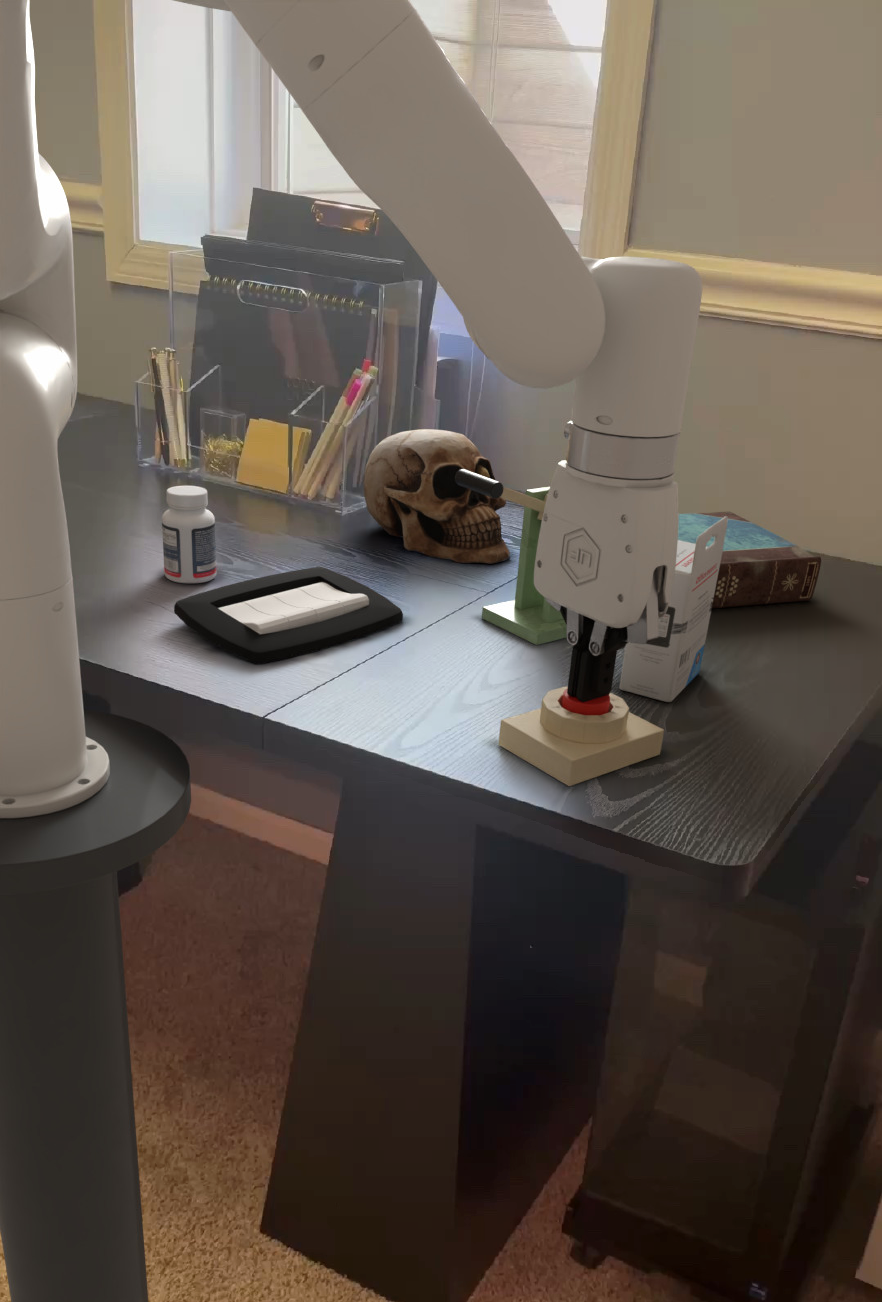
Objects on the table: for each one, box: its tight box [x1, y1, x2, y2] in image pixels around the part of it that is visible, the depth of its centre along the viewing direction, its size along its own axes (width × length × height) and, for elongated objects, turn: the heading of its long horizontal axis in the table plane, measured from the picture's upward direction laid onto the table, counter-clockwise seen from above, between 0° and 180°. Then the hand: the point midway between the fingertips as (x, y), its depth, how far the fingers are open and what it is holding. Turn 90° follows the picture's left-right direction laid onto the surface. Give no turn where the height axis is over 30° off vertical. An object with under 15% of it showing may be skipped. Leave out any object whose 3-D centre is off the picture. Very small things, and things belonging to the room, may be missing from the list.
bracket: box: [481, 486, 567, 646], centre depth 115 cm, size 10×8×13 cm
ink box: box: [619, 516, 728, 703], centre depth 103 cm, size 8×5×15 cm, turn 151°
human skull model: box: [363, 428, 511, 565], centre depth 137 cm, size 16×17×13 cm
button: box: [562, 689, 610, 715], centre depth 92 cm, size 4×4×2 cm
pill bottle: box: [161, 485, 218, 584], centre depth 121 cm, size 5×5×9 cm
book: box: [678, 511, 822, 610], centre depth 131 cm, size 23×18×5 cm
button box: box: [498, 685, 665, 787], centre depth 93 cm, size 10×8×4 cm
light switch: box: [173, 566, 404, 664], centre depth 113 cm, size 20×3×14 cm
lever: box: [455, 469, 548, 520], centre depth 109 cm, size 13×5×2 cm, turn 129°
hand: (588, 694), depth 91 cm, fingers closed
